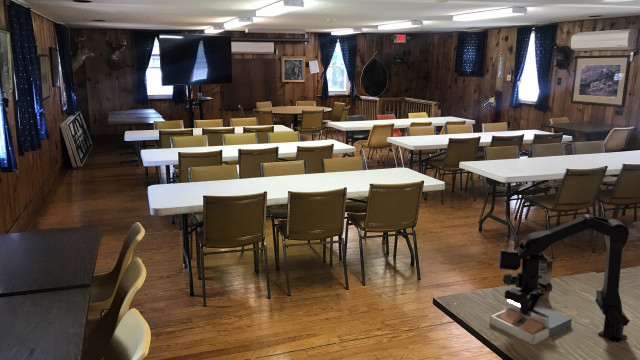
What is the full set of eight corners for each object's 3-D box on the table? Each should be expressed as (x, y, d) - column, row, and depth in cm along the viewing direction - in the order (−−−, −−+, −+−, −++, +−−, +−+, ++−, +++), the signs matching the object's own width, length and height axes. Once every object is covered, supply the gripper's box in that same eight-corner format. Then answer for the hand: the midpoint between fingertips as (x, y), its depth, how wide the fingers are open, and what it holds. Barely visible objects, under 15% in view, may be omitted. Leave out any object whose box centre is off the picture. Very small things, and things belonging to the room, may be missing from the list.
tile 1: (508, 312, 178) (507, 308, 178) (521, 318, 174) (519, 313, 174) (500, 321, 177) (499, 317, 176) (512, 327, 172) (511, 322, 172)
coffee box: (525, 299, 195) (528, 260, 191) (520, 292, 201) (523, 254, 198) (549, 300, 194) (553, 261, 190) (543, 293, 200) (547, 255, 197)
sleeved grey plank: (510, 307, 180) (510, 298, 179) (548, 325, 168) (549, 315, 167) (506, 309, 179) (506, 301, 178) (544, 327, 166) (544, 318, 165)
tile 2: (530, 322, 172) (529, 318, 171) (543, 328, 167) (542, 324, 167) (521, 331, 170) (520, 327, 169) (534, 337, 165) (533, 333, 165)
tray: (505, 317, 181) (505, 309, 180) (548, 337, 167) (549, 329, 166) (489, 323, 176) (490, 315, 175) (532, 345, 162) (533, 336, 162)
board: (527, 307, 188) (528, 300, 187) (571, 326, 174) (571, 318, 173) (505, 317, 181) (506, 309, 180) (548, 337, 167) (549, 328, 166)
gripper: (526, 258, 181) (523, 298, 184) (492, 269, 171) (489, 311, 174) (555, 268, 172) (551, 309, 175) (521, 280, 162) (517, 324, 165)
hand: (526, 313), depth 173 cm, fingers closed on sleeved grey plank, 2 cm apart
